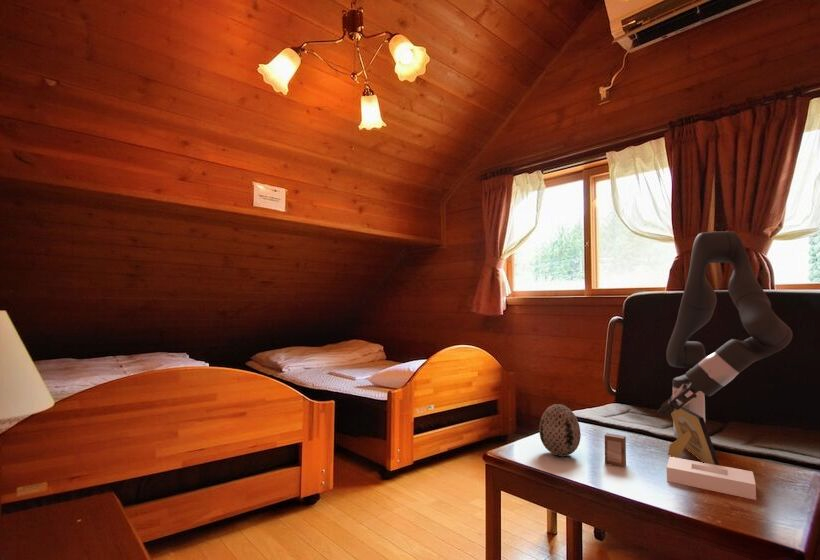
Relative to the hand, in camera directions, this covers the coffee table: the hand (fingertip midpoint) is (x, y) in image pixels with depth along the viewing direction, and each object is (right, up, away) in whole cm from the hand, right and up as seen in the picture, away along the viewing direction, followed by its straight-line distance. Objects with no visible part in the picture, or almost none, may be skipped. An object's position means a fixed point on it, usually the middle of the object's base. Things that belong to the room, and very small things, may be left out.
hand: (661, 412), depth 117 cm
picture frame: (+14, -18, +12) cm, 26 cm away
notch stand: (+8, -16, -7) cm, 19 cm away
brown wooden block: (-10, -17, +6) cm, 20 cm away
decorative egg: (-23, -17, +13) cm, 31 cm away
